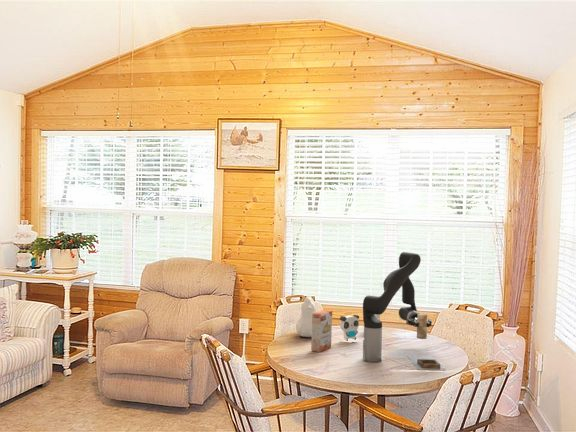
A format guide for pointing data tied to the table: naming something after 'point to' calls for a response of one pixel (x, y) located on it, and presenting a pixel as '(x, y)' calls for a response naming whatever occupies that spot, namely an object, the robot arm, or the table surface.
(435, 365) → the socket collar
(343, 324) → the panda figurine
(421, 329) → the maple pillar
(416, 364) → the board
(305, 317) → the decorative rooster
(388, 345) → the table surface
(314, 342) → the cracker box
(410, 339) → the table surface
